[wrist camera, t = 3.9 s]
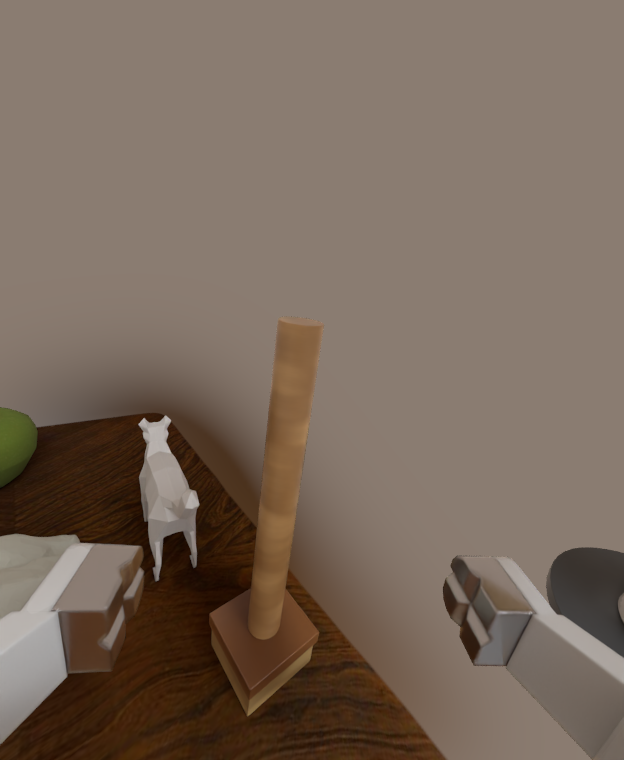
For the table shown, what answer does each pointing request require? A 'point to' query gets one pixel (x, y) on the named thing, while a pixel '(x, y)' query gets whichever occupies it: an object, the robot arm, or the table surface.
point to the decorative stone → (27, 566)
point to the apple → (15, 443)
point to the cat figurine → (165, 493)
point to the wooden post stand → (274, 534)
